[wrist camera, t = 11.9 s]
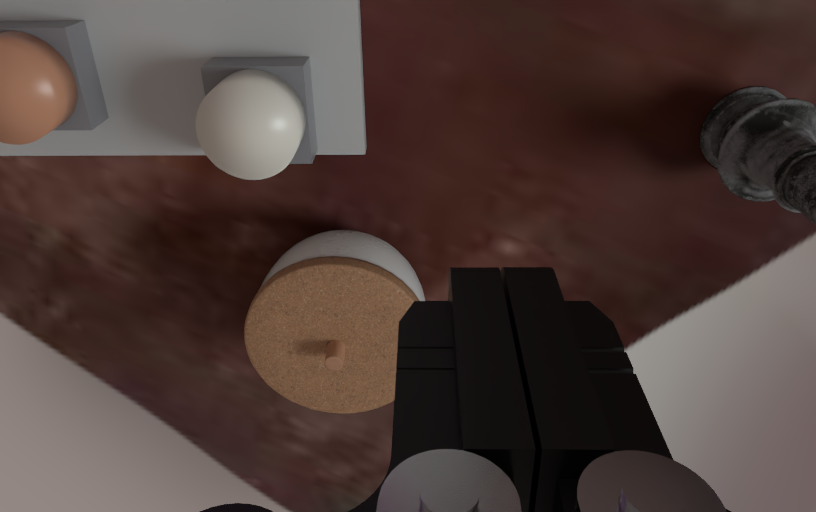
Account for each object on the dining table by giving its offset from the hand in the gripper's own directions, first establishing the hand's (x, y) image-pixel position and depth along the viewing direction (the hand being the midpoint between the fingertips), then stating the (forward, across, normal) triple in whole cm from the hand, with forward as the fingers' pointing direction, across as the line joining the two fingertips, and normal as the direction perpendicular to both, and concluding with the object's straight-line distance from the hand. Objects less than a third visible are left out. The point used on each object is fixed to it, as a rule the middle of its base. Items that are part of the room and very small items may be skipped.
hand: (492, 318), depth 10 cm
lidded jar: (+29, +6, +17) cm, 34 cm away
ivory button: (+28, +10, +5) cm, 30 cm away
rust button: (+28, +22, +3) cm, 36 cm away
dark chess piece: (+29, -18, +7) cm, 35 cm away
